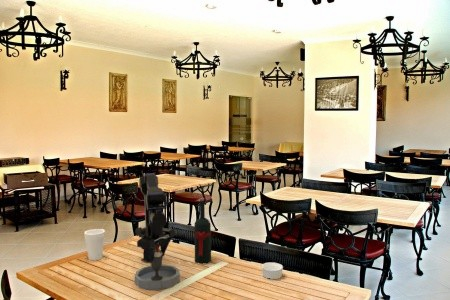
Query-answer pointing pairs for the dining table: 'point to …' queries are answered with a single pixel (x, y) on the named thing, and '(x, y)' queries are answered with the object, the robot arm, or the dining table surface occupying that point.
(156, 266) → the sundae
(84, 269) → the dining table surface
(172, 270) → the grey polygonal tray
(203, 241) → the wine bottle
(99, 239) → the foam cup
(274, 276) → the ramekin
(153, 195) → the robot arm
